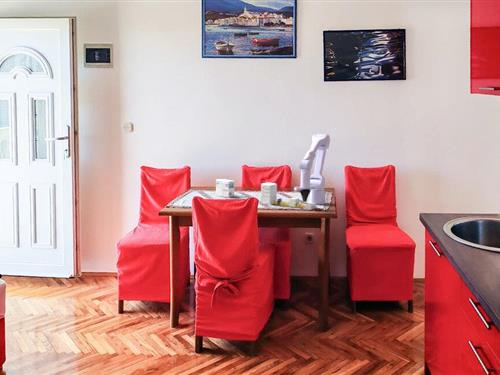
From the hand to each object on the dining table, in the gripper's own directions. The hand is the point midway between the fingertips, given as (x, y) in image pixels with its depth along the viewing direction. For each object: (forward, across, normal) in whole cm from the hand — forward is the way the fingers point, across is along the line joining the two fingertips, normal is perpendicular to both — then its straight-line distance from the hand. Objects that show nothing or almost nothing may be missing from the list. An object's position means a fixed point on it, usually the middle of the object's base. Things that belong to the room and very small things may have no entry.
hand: (304, 201), depth 386 cm
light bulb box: (+4, +27, -54) cm, 61 cm away
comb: (+4, -2, +2) cm, 5 cm away
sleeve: (+4, +4, -6) cm, 8 cm away
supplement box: (+4, +13, -21) cm, 25 cm away
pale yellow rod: (+4, +4, -7) cm, 9 cm away
